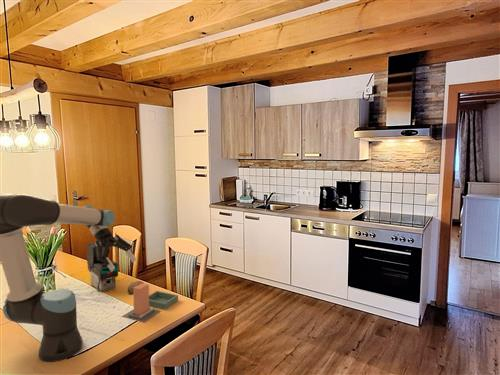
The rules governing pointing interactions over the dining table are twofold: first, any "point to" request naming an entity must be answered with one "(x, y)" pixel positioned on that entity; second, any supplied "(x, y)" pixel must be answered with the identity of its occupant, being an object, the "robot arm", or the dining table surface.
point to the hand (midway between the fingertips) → (124, 265)
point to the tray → (162, 300)
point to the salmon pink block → (141, 299)
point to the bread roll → (132, 285)
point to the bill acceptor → (100, 270)
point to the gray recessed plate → (143, 317)
